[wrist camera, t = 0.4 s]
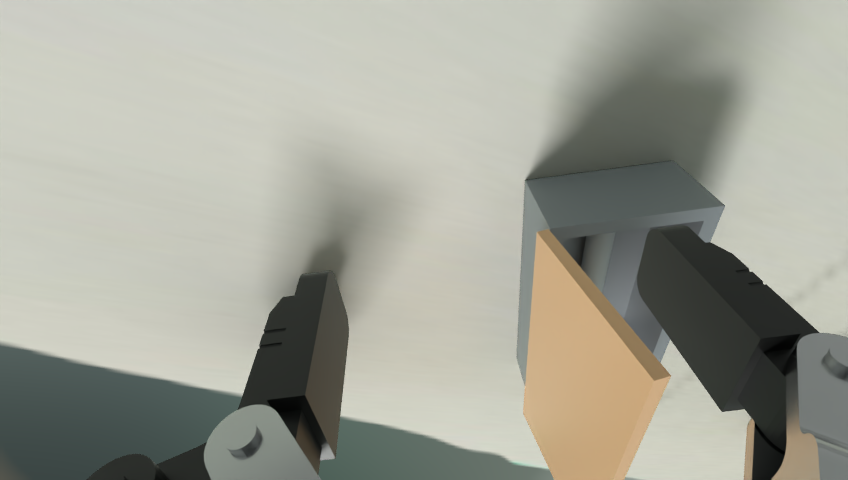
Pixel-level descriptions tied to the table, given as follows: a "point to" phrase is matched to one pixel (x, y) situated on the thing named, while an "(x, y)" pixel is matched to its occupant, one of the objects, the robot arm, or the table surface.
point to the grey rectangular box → (606, 213)
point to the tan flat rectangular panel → (584, 373)
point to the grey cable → (597, 257)
